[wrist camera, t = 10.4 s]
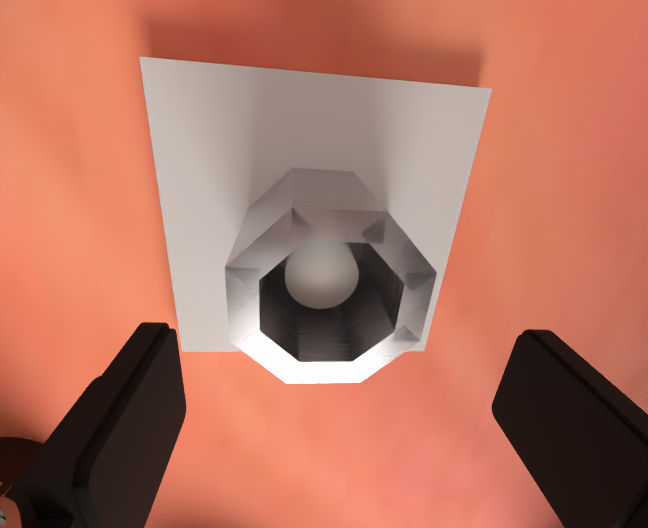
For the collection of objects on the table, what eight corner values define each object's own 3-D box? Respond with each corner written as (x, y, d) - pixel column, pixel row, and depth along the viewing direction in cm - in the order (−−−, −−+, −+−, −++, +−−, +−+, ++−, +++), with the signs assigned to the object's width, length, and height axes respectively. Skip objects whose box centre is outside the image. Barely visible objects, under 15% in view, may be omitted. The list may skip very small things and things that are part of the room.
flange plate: (477, 89, 15) (562, 84, 10) (417, 338, 21) (453, 405, 16) (151, 59, 13) (76, 38, 9) (188, 337, 19) (155, 412, 15)
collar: (394, 173, 15) (451, 214, 10) (374, 297, 18) (410, 381, 13) (247, 165, 14) (220, 203, 9) (250, 295, 17) (232, 384, 12)
